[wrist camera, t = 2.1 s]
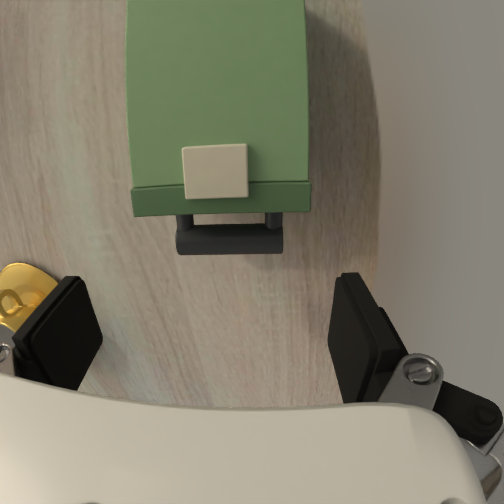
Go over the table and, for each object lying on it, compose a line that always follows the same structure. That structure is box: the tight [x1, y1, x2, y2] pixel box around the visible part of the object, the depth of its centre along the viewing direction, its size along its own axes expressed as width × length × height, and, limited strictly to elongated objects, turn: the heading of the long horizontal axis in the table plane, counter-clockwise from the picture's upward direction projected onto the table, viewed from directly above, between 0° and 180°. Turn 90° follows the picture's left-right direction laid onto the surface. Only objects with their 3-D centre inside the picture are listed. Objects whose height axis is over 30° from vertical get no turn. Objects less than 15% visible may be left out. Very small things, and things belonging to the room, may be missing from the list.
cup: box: [0, 263, 58, 348], centre depth 22 cm, size 12×12×5 cm
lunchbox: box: [125, 0, 312, 255], centre depth 13 cm, size 7×8×15 cm
